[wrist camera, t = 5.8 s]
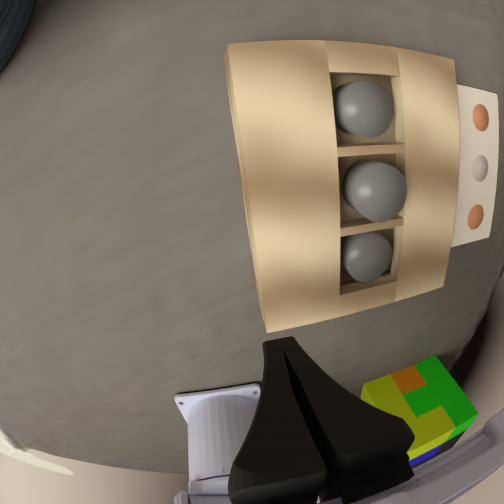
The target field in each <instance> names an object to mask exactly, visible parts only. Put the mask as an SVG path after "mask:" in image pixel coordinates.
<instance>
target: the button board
mask: <svg viewBox="0 0 504 504" xmlns="http://www.w3.org/2000/svg"><path fill="white" fill-rule="evenodd" d="M224 65H225V72H226V79H227V86H228V93H229V100H230V107H231V114H232V121H233V128H234V135H235V142H236V149H237V156H238V163H239V170H240V177H241V184H242V191H243V198H244V205H245V212H246V219H247V226H248V233H249V240H250V247H251V254H252V261H253V268H254V275H255V282H256V289H257V295H258V302H259V306H260V309H261V313H262V316H263V320H264V323H265V327H266V331H267V333H270V332H275V331H280V330H284V329H289V328H294V327H298V326H303V325H307V324H312V323H316V322H320V321H324V320H329V319H333V318H337V317H341V316H345V315H349V314H352V313H356V312H360V311H364V310H367V309H371V308H375V307H378V306H382V305H385V304H389V303H392V302H396V301H399V300H402V299H406V298H409V297H412V296H415V295H419V294H422V293H425V292H428V291H431V290H434V289H437V288H440V287H443V285H444V280H445V276H446V271H447V266H448V260H449V255H450V249H451V243H452V236H453V229H454V221H455V213H456V203H457V191H458V176H459V110H458V95H457V84H456V74H455V66H454V60H453V59H449V58H445V57H441V56H437V55H432V54H428V53H423V52H418V51H413V50H408V49H402V48H396V47H390V46H382V45H375V44H366V43H356V42H343V41H324V40H278V41H259V42H246V43H235V44H227V48H226V51H225V55H224ZM358 81H372V82H374V83H377V84H378V85H380V86H381V87H382V88H383V89H384V90H385V91H386V92H387V93H388V95H389V97H390V99H391V102H392V105H393V118H392V122H391V124H390V126H389V128H388V129H387V130H386V132H384V133H383V134H382V135H380V136H378V137H373V138H368V137H362V136H357V135H351V134H347V133H344V132H342V131H341V130H339V129H338V128H337V127H336V126H335V118H334V108H333V98H332V92H333V91H334V90H335V89H336V88H337V87H338V86H340V85H343V84H346V83H352V82H358ZM361 159H373V160H376V161H379V162H382V163H385V164H388V165H391V166H393V167H395V168H397V169H398V170H399V171H400V172H401V173H402V174H403V176H404V178H405V181H406V185H407V196H406V200H405V203H404V206H403V207H402V209H401V211H400V212H399V213H398V214H397V215H396V216H395V217H394V218H392V219H391V220H389V221H386V222H382V223H377V222H373V221H370V220H369V219H367V218H366V217H364V216H363V215H361V214H360V213H359V212H357V211H356V210H354V209H353V208H352V207H350V206H349V205H348V204H347V202H346V201H345V199H344V196H343V193H342V181H343V177H344V175H345V173H346V171H347V170H348V168H349V167H350V166H351V165H352V164H353V163H355V162H356V161H358V160H361ZM370 231H376V232H378V233H379V234H380V235H382V236H383V237H384V238H385V239H387V240H388V242H389V243H390V245H391V249H392V256H391V261H390V263H389V265H388V267H387V269H386V270H385V271H384V272H383V273H382V274H381V275H380V276H379V277H378V278H376V279H374V280H372V281H368V282H360V281H357V280H355V279H354V278H353V277H352V276H351V275H350V274H349V273H348V271H347V270H346V269H345V268H344V267H343V265H342V264H341V263H340V237H342V236H348V235H353V234H359V233H365V232H370Z"/></svg>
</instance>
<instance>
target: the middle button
mask: <svg viewBox="0 0 504 504" xmlns="http://www.w3.org/2000/svg"><path fill="white" fill-rule="evenodd" d="M342 193H343V196H344V199H345V201H346V202H347V204H348V205H349V206H350V207H352V208H353V209H354V210H356V211H357V212H359V213H360V214H361V215H363V216H364V217H366V218H367V219H369V220H370V221H373V222H377V223H382V222H386V221H389V220H391V219H392V218H394V217H395V216H396V215H397V214H398V213H399V212H400V211H401V209H402V207H403V206H404V203H405V200H406V196H407V185H406V181H405V178H404V176H403V174H402V173H401V172H400V171H399V170H398V169H397V168H395V167H393V166H391V165H388V164H385V163H382V162H379V161H376V160H373V159H361V160H358V161H356V162H355V163H353V164H352V165H351V166H350V167H349V168H348V170H347V171H346V173H345V175H344V177H343V181H342Z"/></svg>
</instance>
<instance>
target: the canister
mask: <svg viewBox="0 0 504 504" xmlns="http://www.w3.org/2000/svg"><path fill="white" fill-rule="evenodd" d="M34 3H35V0H0V71H1V70H2V68H3V67H4V65H5V64H6V62H7V61H8V59H9V58H10V56H11V55H12V53H13V51H14V50H15V48H16V46H17V44H18V42H19V41H20V39H21V37H22V35H23V32H24V30H25V28H26V26H27V23H28V21H29V18H30V16H31V13H32V10H33V6H34Z"/></svg>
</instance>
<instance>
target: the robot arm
mask: <svg viewBox="0 0 504 504" xmlns="http://www.w3.org/2000/svg"><path fill="white" fill-rule="evenodd" d="M263 352H264V372H263V380H262V386H261V390H260V385H259V384H256V383H253V384H248V385H242V386H236V387H230V388H224V389H217V390H210V391H203V392H195V393H186V394H178V395H175V402H176V404H177V406H178V407H179V409H180V411H181V413H182V415H183V416H184V418H185V420H186V422H187V423H188V458H189V494H187V491H183V490H181V491H180V493H178V494H177V495H176V496H175V497H174V504H317V503H316V502H317V499H318V496H319V499H320V503H318V504H449V503H451V502H452V501H454V500H455V499H457V498H458V497H460V496H461V495H463V494H464V493H466V492H467V491H469V490H470V489H472V488H473V487H474V486H476V485H477V484H478V483H480V482H481V481H483V480H484V479H485V478H486V477H488V476H489V475H491V474H492V473H493V472H494V471H496V470H497V469H498V468H499V467H501V466H502V465H503V464H504V408H503V409H502V410H501V411H499V412H498V413H497V414H495V415H494V416H493V417H491V418H490V419H489V420H488V421H487V423H486V424H485V425H484V427H483V428H482V429H481V430H479V431H478V432H476V433H475V434H473V435H472V436H470V437H469V438H467V439H466V440H464V441H462V442H461V443H459V444H457V445H456V446H454V447H452V448H451V449H449V450H447V451H446V452H444V453H442V454H440V455H438V456H437V457H435V458H433V459H431V460H429V461H427V462H425V463H423V464H421V465H419V466H417V467H415V468H413V469H412V468H411V466H410V464H409V462H408V461H409V460H410V458H409V456H408V454H407V451H408V450H409V448H410V447H411V445H412V444H413V442H414V439H415V435H414V433H413V431H412V430H411V428H410V427H409V425H408V424H407V423H406V422H405V420H404V419H403V418H400V417H398V416H395V415H392V414H390V413H387V412H385V411H383V410H380V409H378V408H376V407H374V406H372V405H370V404H369V403H367V402H365V401H363V400H362V399H360V398H358V397H356V396H355V395H353V394H352V393H350V392H349V391H347V390H346V389H345V388H343V387H342V386H341V385H339V384H338V383H337V382H336V381H334V380H333V379H332V378H331V377H330V376H329V375H327V374H326V373H325V372H324V371H323V370H322V369H321V368H320V367H319V366H318V365H317V364H316V363H315V362H314V361H313V360H312V359H311V358H310V357H309V356H308V354H307V353H306V352H305V351H304V350H303V349H302V347H301V346H300V345H299V344H298V342H297V341H296V340H295V338H294V337H292V336H290V337H285V338H280V339H275V340H270V341H265V342H264V343H263ZM395 493H396V494H395ZM390 495H391V496H390ZM383 498H384V499H383ZM378 500H379V501H378ZM373 502H374V503H373Z"/></svg>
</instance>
